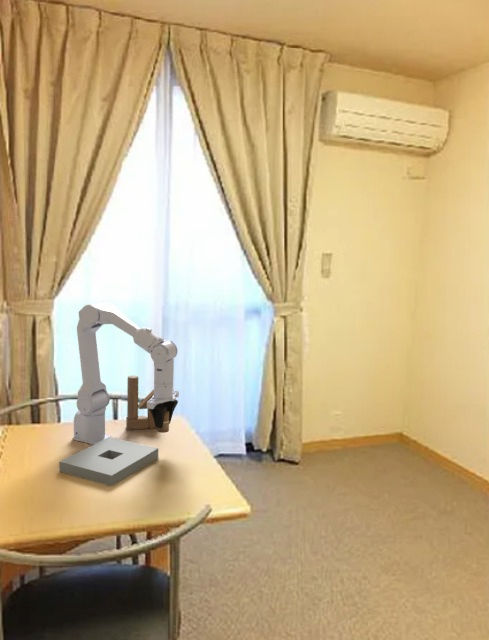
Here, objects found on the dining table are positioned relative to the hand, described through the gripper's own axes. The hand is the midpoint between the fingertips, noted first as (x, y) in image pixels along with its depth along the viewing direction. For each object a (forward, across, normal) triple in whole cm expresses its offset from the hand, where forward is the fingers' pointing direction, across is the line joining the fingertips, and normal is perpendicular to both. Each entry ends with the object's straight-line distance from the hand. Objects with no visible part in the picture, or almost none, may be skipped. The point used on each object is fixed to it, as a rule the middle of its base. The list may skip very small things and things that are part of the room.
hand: (162, 425), depth 178 cm
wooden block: (+9, +16, +18) cm, 25 cm away
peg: (+2, 0, 0) cm, 2 cm away
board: (+9, -15, +8) cm, 19 cm away
